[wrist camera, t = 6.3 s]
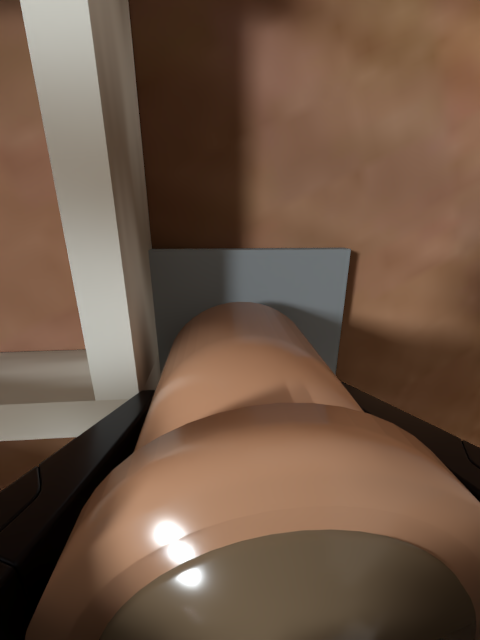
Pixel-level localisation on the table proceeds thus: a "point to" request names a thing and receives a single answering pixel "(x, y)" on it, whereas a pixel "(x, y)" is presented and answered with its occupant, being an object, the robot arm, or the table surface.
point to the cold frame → (89, 223)
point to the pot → (266, 509)
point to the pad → (252, 289)
